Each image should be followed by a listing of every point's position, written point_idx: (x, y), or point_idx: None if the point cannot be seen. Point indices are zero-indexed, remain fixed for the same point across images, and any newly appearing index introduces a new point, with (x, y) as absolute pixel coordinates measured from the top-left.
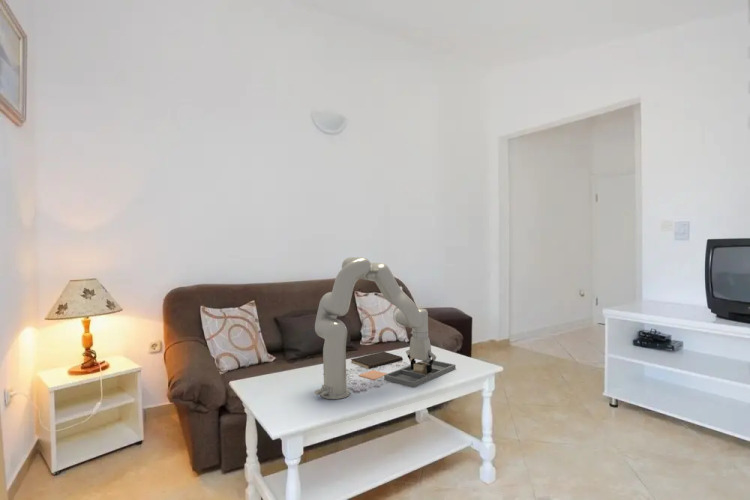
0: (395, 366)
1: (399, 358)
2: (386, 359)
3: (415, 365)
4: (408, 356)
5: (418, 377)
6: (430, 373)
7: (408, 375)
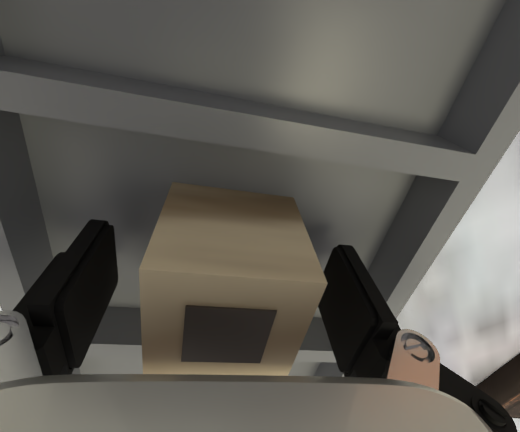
0: (509, 301)
1: (500, 396)
2: None
3: (284, 266)
4: (488, 409)
5: (160, 87)
6: None
7: (330, 116)
